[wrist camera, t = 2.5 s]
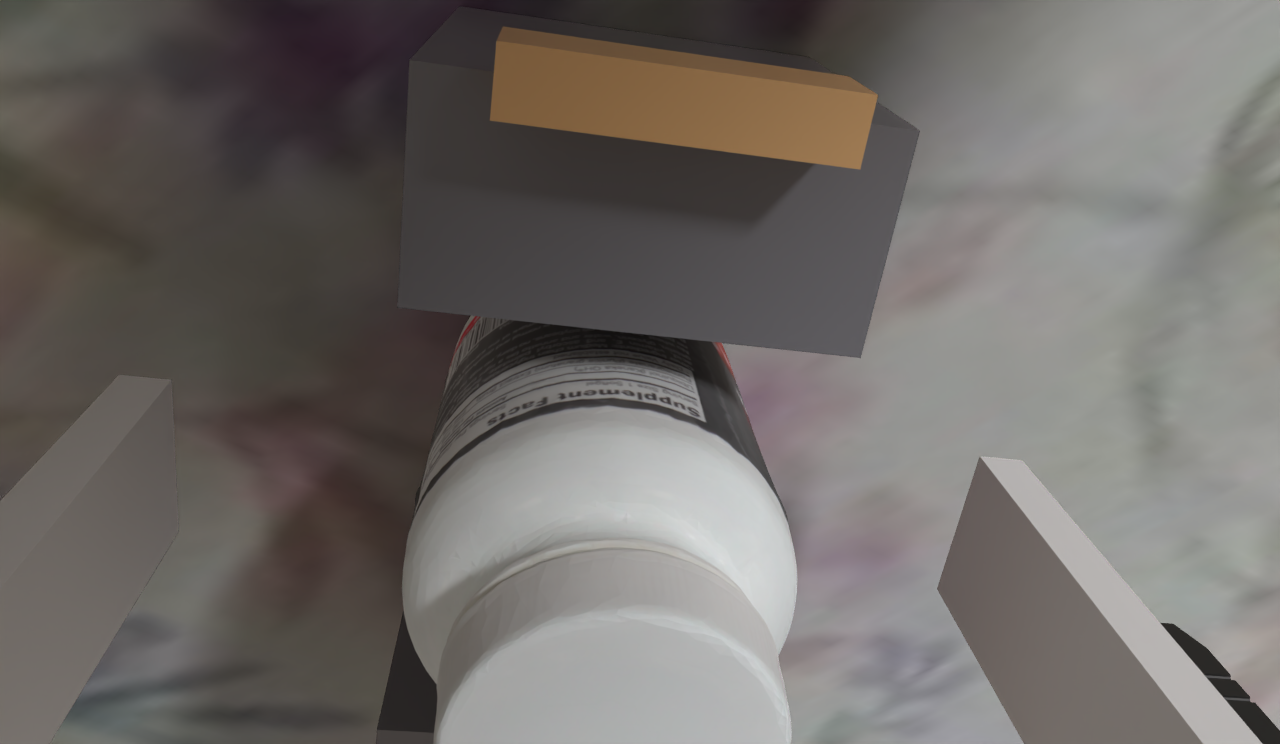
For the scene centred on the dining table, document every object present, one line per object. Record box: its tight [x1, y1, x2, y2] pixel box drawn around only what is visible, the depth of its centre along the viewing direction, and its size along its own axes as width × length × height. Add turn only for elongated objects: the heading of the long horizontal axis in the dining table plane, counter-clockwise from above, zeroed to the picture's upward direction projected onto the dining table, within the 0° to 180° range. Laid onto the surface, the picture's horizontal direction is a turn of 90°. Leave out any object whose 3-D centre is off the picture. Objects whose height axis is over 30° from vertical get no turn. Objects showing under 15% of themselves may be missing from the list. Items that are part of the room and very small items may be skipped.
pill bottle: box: [402, 316, 797, 744], centre depth 15 cm, size 5×5×10 cm
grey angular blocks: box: [376, 6, 920, 744], centre depth 17 cm, size 14×6×7 cm, turn 172°
